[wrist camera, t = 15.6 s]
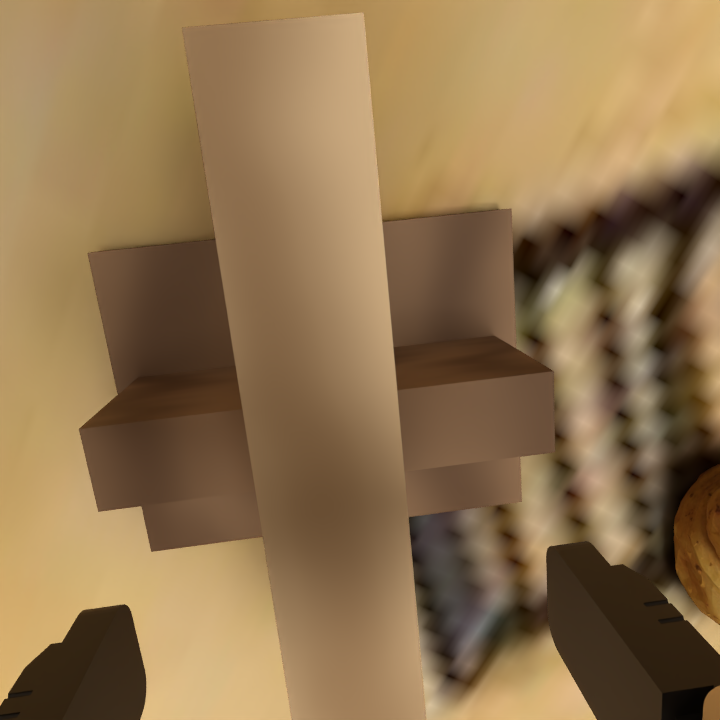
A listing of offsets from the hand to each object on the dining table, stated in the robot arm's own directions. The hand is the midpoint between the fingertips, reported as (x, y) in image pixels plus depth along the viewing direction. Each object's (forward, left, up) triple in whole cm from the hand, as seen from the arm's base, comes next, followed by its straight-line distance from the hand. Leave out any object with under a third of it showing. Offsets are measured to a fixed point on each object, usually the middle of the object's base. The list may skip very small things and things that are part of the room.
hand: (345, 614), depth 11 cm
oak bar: (0, 0, -9) cm, 9 cm away
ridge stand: (0, 0, -17) cm, 17 cm away
